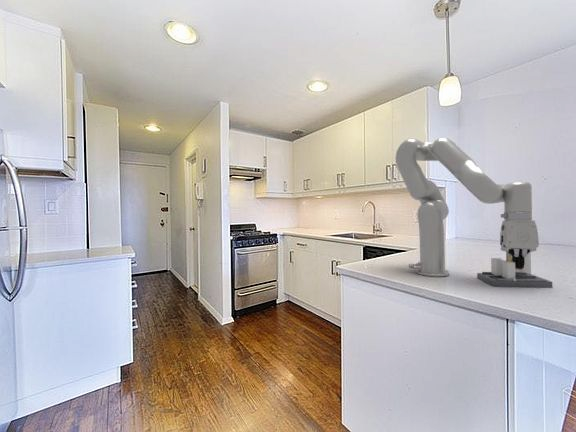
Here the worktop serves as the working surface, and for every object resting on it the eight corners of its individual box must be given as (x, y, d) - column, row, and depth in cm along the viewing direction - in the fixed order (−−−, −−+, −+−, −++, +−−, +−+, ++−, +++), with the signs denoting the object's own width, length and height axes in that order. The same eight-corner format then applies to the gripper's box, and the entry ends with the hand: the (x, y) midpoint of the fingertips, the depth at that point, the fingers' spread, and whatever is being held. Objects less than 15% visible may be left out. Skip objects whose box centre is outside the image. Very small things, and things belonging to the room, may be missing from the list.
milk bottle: (521, 272, 114) (520, 225, 113) (536, 276, 106) (535, 226, 106) (501, 272, 115) (501, 225, 114) (515, 276, 107) (514, 227, 106)
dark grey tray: (493, 286, 96) (493, 279, 96) (477, 277, 107) (477, 271, 107) (552, 287, 92) (552, 279, 92) (529, 278, 104) (529, 271, 104)
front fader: (507, 279, 96) (507, 262, 96) (501, 276, 100) (501, 260, 100) (515, 279, 96) (515, 262, 96) (509, 276, 99) (509, 260, 99)
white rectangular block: (496, 275, 102) (496, 259, 101) (491, 273, 105) (490, 257, 105) (503, 275, 101) (503, 259, 101) (498, 273, 105) (498, 257, 104)
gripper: (500, 217, 94) (501, 269, 95) (550, 216, 92) (550, 269, 92) (488, 217, 102) (489, 265, 102) (534, 215, 99) (534, 265, 99)
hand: (518, 267), depth 97 cm, fingers closed
